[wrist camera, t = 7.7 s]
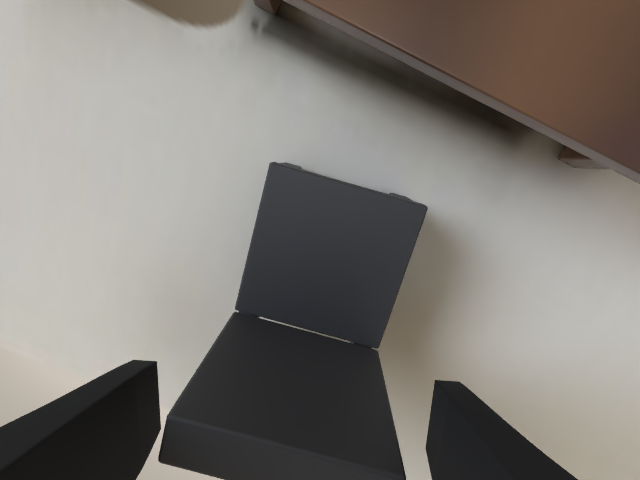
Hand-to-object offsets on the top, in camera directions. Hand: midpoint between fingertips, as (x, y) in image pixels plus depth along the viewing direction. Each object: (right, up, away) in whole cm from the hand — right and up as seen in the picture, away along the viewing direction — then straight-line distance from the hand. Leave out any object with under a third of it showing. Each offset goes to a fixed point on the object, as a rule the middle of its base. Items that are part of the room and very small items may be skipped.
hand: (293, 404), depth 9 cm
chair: (+1, +4, +5) cm, 7 cm away
